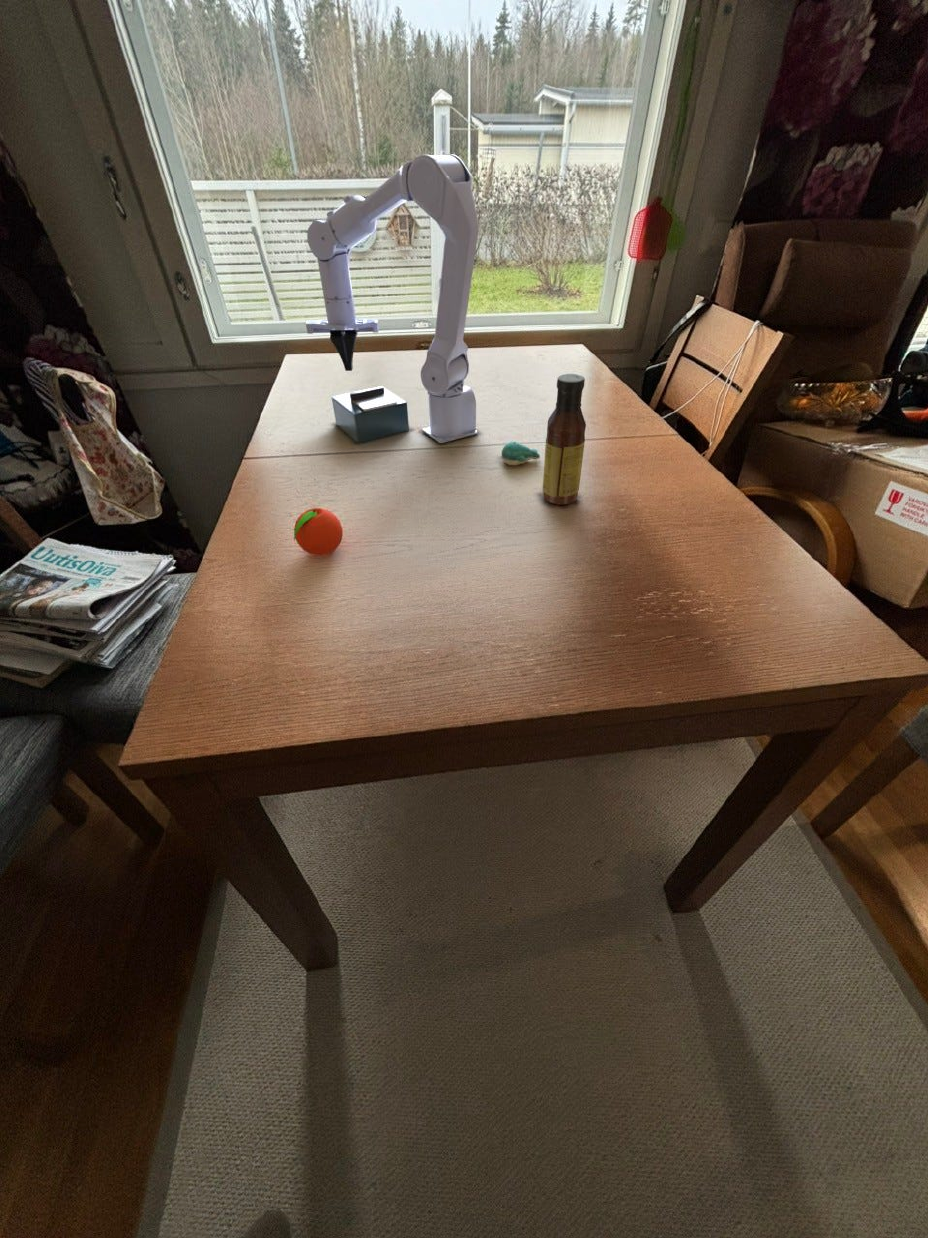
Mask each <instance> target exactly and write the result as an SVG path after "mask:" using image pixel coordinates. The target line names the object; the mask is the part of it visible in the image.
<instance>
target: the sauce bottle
mask: <svg viewBox="0 0 928 1238" xmlns="http://www.w3.org/2000/svg"><path fill="white" fill-rule="evenodd" d="M556 380H557V381H556V389H557V395H556V403H555V408H554V410H553V411H552V413H551V414H550V415H549V417H548V419H547V427H546V438H545V448H544V462H543V475H542V488H541V489H542V496H543V498H544V500H545V501H546V502H547V503H551V504H554V505H557V506H558V505H559V506H560V505H561V506H562V505H563V506H565V505H570V504H573V503H574V502H575V501H576V500H577V498H578V495H579V491H580V484H581V476H582V467H583V459H584V451H585V443H586V434H585V433H586V428H587V423H586V420H585V418H584V414H583V411H582V396H583V390H584V388H585V380H586V379H585V377H584V376H583V375H582V374H576V373H566V374H561V375H559V376H557V379H556Z"/></svg>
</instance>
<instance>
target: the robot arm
mask: <svg viewBox="0 0 928 1238" xmlns="http://www.w3.org/2000/svg"><path fill="white" fill-rule="evenodd" d="M473 180H474V178H473V176H472V174H471V172H470V171H469V169H468V168H467V166H466V165H465V163H464V162H463V160H462V159H461V158H460V157H459V156H457V155H456V154H452V153H449V154H448V153H447V154H445V155H430V154H420V155H417V156H416V157H414V159H413V160H412V161H408V162H406V163H404V164H403V165H401V167H400V168H399V169H398V170H396V172H394V173H393V174H392V175H391V176H390V177H388V178H387V179H386V180H385V181H384V182H383V183H381V185H379V186H378V187H377V188H376V189H375V190H373V191H372V193H370V194H369V195H368V196H367V197H365V198H364V197H363V196H361V195H353V194H348V195H346V196H345V197H344V198H343V202H344V203H343V204H342V205H341V206H339V207H338V208H337V209H335V210H329V211H327V213H326V216H327V217H326V218H325V220H320V219H315V220H313V221H312V223H311V224H310V225H309V226H308V229H307V233H306V240H307V245H308V247H309V249H310V251H311V253H312V254H313V256H314V257H315V258H316V259H317V266H318V271H319V278H320V282H321V283H320V284H321V288H322V296H323V301H324V307H325V314H326V319H318V320H307V321H306V322H305V327H306V332H307V333H306V334H308V335H311V334H320V333H322V334H323V333H324V334H325V333H329V335H330V336H329V340H330V341H331V343H332V345H333V346H334V348H335V350H336V351H337V353H338V355H339V357H340V359H341V361H342V364H343V367H344V370H345V372H352V371H353V368H354V367H353V366H354V364H353V363H354V361H353V360H354V350H355V346H356V340H357V337H358V333H375V334H376V333H379V330H380V328H379V320H378V319H365V318H356V310H355V302H354V295H353V287H352V280H351V272H350V264H351V260H350V254H351V252H352V249H353V247H355V246H357V245H358V244H359V243H361V242H362V241H364V240H365V239H366V238H368V237H370V236H371V235H372V234H374V233H375V231H376V228H377V221H378V220H379V219H380V218H382V217H383V216H385V215H387V214H389V213H390V212H392V211H393V210H395V209H397V208H398V207H400V206H402V205H403V204H404V203H406V202H414V203H415V205H416V206H418V208H419V209H421V210H422V211H423V212H424V213H426V214H427V216H429V217H430V218H431V219H432V220H433V221H435V223H436V224H437V226H438V228H439V229H440V230H441V232H442V234H443V235H444V243H443V244H444V245H443V252H442V261H441V271H440V279H439V280H440V281H439V291H438V300H437V301H438V302H437V310H436V312H437V313H436V320H435V330H434V337H433V340H432V342H431V343H430V345H429V347H428V350H427V351H426V359H425V361H424V363H423V365H422V366H421V369H420V380H421V381H420V382H421V383H422V386H423V388H424V389H425V390H426V391H427V395H428V412H429V413H428V414H429V415H428V416H429V426H428V427H424V428H422V432H423V433H425V434H426V435H427V436H429V437H430V438H432V439H434V441H436V442H438V443H439V444H445V443H448V442H452V441H455V440H459V439H463V438H467V437H471V436H474V435H478V433H479V431H478V430H477V399H476V396H475V395H476V394H475V393H474V391H473V389H472V388H471V387H470V386H468V385H464V383H465V382H464V381H465V380H466V379H467V377H468V375H469V372H470V363H469V359H468V358H469V357H468V352H469V351H468V350H469V346H468V345H467V343H466V342H465V341H464V337H465V336H464V335H465V328H466V321H467V314H468V306H469V301H470V292H471V287H472V279H473V271H474V266H475V258H476V252H477V245H478V244H477V243H478V237H479V230H480V228H479V227H480V226H479V225H480V223H479V217H478V213H477V209H476V203H475V200H474V199H475V198H474V194H473V190H472V189H473Z"/></svg>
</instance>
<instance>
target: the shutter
mask: <svg viewBox="0 0 928 1238" xmlns="http://www.w3.org/2000/svg"><path fill="white" fill-rule="evenodd" d="M376 387H377V388H375V387H371V388H372V389H370V388H366V389H367V390H365V389H362V390H363V391H361V390H357V391H358V392H356V391H352V392H353V393H351V392H348V393H349V394H350V401H351V402H352V403H353V404H355V405H356V406H357V407H359V408H360V409H361V410H363V411H369V410H373V409H377V408H382V407H386V406H391V405H395V404H397V401H395V400H394V399H392V398H391V397H389V396H388V395H386V394H385V393H384V388H385V387H384V386H382V387H380V386H376Z"/></svg>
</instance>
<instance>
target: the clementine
mask: <svg viewBox="0 0 928 1238" xmlns="http://www.w3.org/2000/svg"><path fill="white" fill-rule="evenodd" d="M293 532H294V533H293V542H295V541H296V543H297V545H298V546H299V547H300V548H301V549H302V550H303V551H304V552H306V553H308V554H310V555H312V556H319V557H321V556H326V555H329V554H331V553H333V552H335V551H336V550H337V549H338V548H339V546H340V545H341V543H342V540H343V536H344V529H343V526H342V523H341V520H340V519H339V518H338V517H337V515H336V514H335V513H334V512H332V511H330V510H329V509H325V508H322V507H312V508H309V509H307V510H305V511H303V512H302V513H301V514H299V516H298V517H297V519H296V520H295V523H294V527H293Z"/></svg>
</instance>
